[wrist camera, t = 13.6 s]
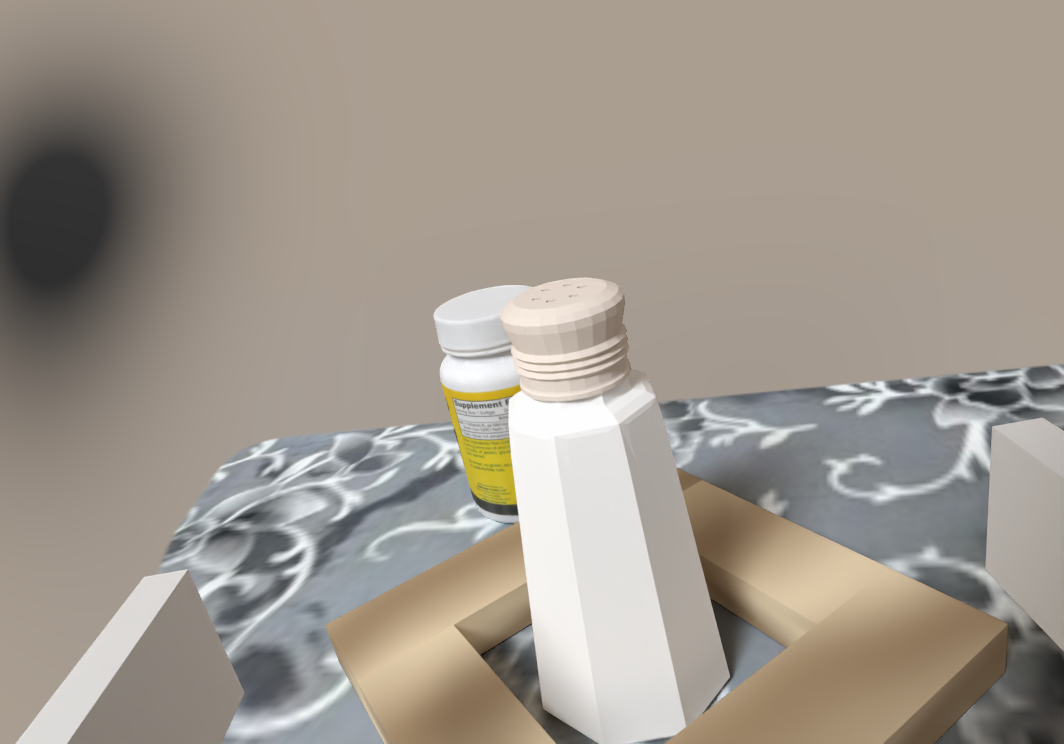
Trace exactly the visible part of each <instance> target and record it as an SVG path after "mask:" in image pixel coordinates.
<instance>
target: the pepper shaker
mask: <svg viewBox="0 0 1064 744" xmlns="http://www.w3.org/2000/svg"><path fill="white" fill-rule="evenodd" d="M624 305H625V298H624V292H623V291H622V289H621V288H620V287H618V285H617V284H615V283H613V282H610V281H605V280H600V279H595V278H573V279H564V280H559V281H554V282H550V283H546V284H542V285H539V286H536V287H533V288H530V289H528V290H526V291H524V292H522V293H520V294H519V295H517V296H516V297H514V298H513V299H511V300H510V301H508V302H507V303H506V304H505V306H504V307H503V309H502V311H501V313H500V320H501V323H502V326H503V328H504V330H505V332H506V334H507V336H508V337H509V339H510V341H511V343H512V347H511V354H512V355H513V362H514V363H515V370H516V371H517V372H518V373H519V374H520V377H521V379H520V388H521V391H520V392H518V393H516V394H515V395H514V396H513V397H512V398H510V399H509V417H508V425H509V437H510V449H511V459H512V467H513V475H514V483H515V491H516V499H517V506H518V514H519V522H520V530H521V538H522V546H523V554H524V562H525V570H526V578H527V586H528V594H529V602H530V610H531V618H532V626H533V634H534V642H535V649H536V657H537V665H538V673H539V681H540V689H541V697H542V705H543V709H544V710H546V711H547V712H549V713H550V714H552V715H554V716H555V717H557V718H558V719H560V720H562V721H563V722H565V723H566V724H568V725H570V726H571V727H573V728H574V729H576V730H578V731H579V732H581V733H582V734H584V735H586V736H587V737H589V738H590V739H592V740H594V741H595V742H597V743H598V744H633V743H639V742H645V741H651V740H657V739H663V738H669V737H674V736H675V735H676V734H678V733H679V732H680V731H681V730H683V729H684V728H685V727H686V726H688V725H689V724H690V723H692V722H693V721H694V720H695V719H697V718H698V717H699V716H701V715H702V713H703V712H704V711H705V709H706V708H707V707H708V705H709V704H710V703H711V701H712V700H713V699H714V697H715V696H716V695H717V693H718V692H719V691H720V689H721V688H722V687H723V686H724V684H725V683H726V682H727V680H728V679H729V678H730V674H729V670H728V666H727V662H726V659H725V655H724V651H723V647H722V643H721V639H720V635H719V631H718V628H717V624H716V620H715V616H714V612H713V608H712V604H711V601H710V597H709V593H708V589H707V585H706V581H705V577H704V573H703V570H702V566H701V562H700V558H699V554H698V550H697V546H696V542H695V539H694V535H693V531H692V527H691V523H690V519H689V515H688V512H687V508H686V504H685V500H684V496H683V492H682V488H681V484H680V481H679V477H678V473H677V469H676V465H675V461H674V457H673V453H672V450H671V446H670V442H669V438H668V434H667V430H666V426H665V423H664V420H663V417H662V414H661V411H660V407H659V404H658V401H657V397H656V395H655V393H654V391H653V388H652V386H651V384H650V382H649V380H648V378H647V376H646V374H645V373H643V372H640V371H637V370H631V365H630V362H629V360H628V358H627V352H628V349H629V345H628V343H627V340H628V337H627V335H626V331H627V329H626V327H625V326H624V324H622V321H623V313H624Z"/></svg>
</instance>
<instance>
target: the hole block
mask: <svg viewBox="0 0 1064 744" xmlns="http://www.w3.org/2000/svg"><path fill="white" fill-rule="evenodd" d="M676 469H677V473H678V477H679V481H680V484H681V488H682V492H683V496H684V500H685V504H686V508H687V512H688V515H689V519H690V523H691V527H692V531H693V535H694V539H695V542H696V546H697V550H698V554H699V558H700V562H701V566H702V570H703V573H704V577H705V581H706V585H707V589H708V593H709V597H710V598H711V599H713V600H714V601H716V602H717V603H719V604H720V605H722V606H723V607H725V608H726V609H728V610H730V611H731V612H733V613H734V614H736V615H737V616H739V617H740V618H742V619H743V620H745V621H746V622H748V623H750V624H751V625H753V626H754V627H756V628H757V629H759V630H760V631H762V632H763V633H765V634H766V635H768V636H770V637H771V638H773V639H774V640H776V641H777V642H779V643H780V644H782V645H783V646H785V647H786V649H785V650H784V651H782V652H781V653H780V654H779V655H777V656H776V657H775V658H773V659H772V660H771V661H770V662H768V663H767V664H766V665H765V666H763V667H762V668H761V669H759V670H758V671H757V672H756V673H754V674H753V675H752V676H750V677H749V678H748V679H747V680H745V681H744V682H743V683H741V684H740V685H739V686H738V687H736V688H735V689H734V690H733V691H731V692H730V693H729V694H727V695H726V696H725V697H724V698H722V699H721V700H720V701H718V702H717V703H716V704H715V705H713V706H712V707H711V708H710V709H708V710H707V711H706V712H704V713H703V714H702V715H701V716H699V717H698V718H697V719H695V720H694V721H693V722H692V723H690V724H689V725H688V726H686V727H685V728H684V729H683V730H681V731H680V732H679V733H678V734H676V735H675V736H674V737H672V738H671V739H670V740H669V741H667V742H666V743H665V744H934V743H935V742H936V741H937V740H938V739H939V738H940V737H941V736H942V735H943V734H944V733H945V732H946V731H947V730H948V729H949V728H950V727H951V726H952V725H953V724H954V723H955V722H956V721H957V720H958V719H959V718H960V717H961V716H962V715H963V714H964V713H965V712H966V711H967V710H968V709H969V708H970V707H971V706H972V705H973V704H974V703H975V702H976V701H977V700H978V699H979V698H980V697H981V696H982V695H983V694H984V693H985V692H986V691H987V690H988V689H989V688H990V687H991V686H992V685H993V684H994V683H995V682H996V681H997V680H998V679H999V678H1000V677H1001V676H1002V675H1003V674H1004V673H1005V670H1006V654H1007V638H1008V624H1007V623H1005V622H1003V621H1001V620H999V619H997V618H994V617H992V616H990V615H988V614H986V613H984V612H982V611H980V610H977V609H975V608H973V607H971V606H969V605H967V604H965V603H963V602H960V601H958V600H956V599H954V598H952V597H950V596H948V595H946V594H943V593H941V592H939V591H937V590H935V589H933V588H931V587H929V586H926V585H924V584H922V583H920V582H918V581H916V580H914V579H912V578H909V577H907V576H905V575H903V574H901V573H899V572H897V571H895V570H892V569H890V568H888V567H886V566H884V565H882V564H880V563H878V562H875V561H873V560H871V559H869V558H867V557H865V556H863V555H861V554H858V553H856V552H854V551H852V550H850V549H848V548H846V547H844V546H841V545H839V544H837V543H835V542H833V541H831V540H829V539H827V538H824V537H822V536H820V535H818V534H816V533H814V532H812V531H810V530H807V529H805V528H803V527H801V526H799V525H797V524H795V523H793V522H790V521H788V520H786V519H784V518H782V517H780V516H778V515H776V514H773V513H771V512H769V511H767V510H765V509H763V508H761V507H759V506H756V505H754V504H752V503H750V502H748V501H746V500H744V499H742V498H739V497H737V496H735V495H733V494H731V493H729V492H727V491H725V490H722V489H720V488H718V487H716V486H714V485H712V484H710V483H708V482H705V481H703V480H701V479H699V478H697V477H695V476H693V475H691V474H688V473H686V472H684V471H682V470H680V469H678V468H676ZM531 623H532V618H531V610H530V602H529V594H528V586H527V578H526V570H525V562H524V554H523V546H522V538H521V530H520V522H517V523H515V524H513V525H511V526H509V527H507V528H506V529H504V530H502V531H500V532H498V533H496V534H494V535H492V536H491V537H489V538H487V539H485V540H483V541H481V542H479V543H477V544H476V545H474V546H472V547H470V548H468V549H466V550H464V551H463V552H461V553H459V554H457V555H455V556H453V557H451V558H449V559H448V560H446V561H444V562H442V563H440V564H438V565H436V566H434V567H433V568H431V569H429V570H427V571H425V572H423V573H421V574H419V575H418V576H416V577H414V578H412V579H410V580H408V581H406V582H404V583H403V584H401V585H399V586H397V587H395V588H393V589H391V590H390V591H388V592H386V593H384V594H382V595H380V596H378V597H376V598H375V599H373V600H371V601H369V602H367V603H365V604H363V605H361V606H360V607H358V608H356V609H354V610H352V611H350V612H348V613H346V614H345V615H343V616H341V617H339V618H337V619H335V620H333V621H332V622H330V623H328V624H326V625H325V626H326V629H327V632H328V634H329V637H330V639H331V642H332V645H333V647H334V650H335V652H336V655H337V657H338V660H339V663H340V664H341V666H342V668H343V670H344V671H345V673H346V675H347V677H348V679H349V680H350V682H351V684H352V686H353V688H354V689H355V691H356V693H357V695H358V697H359V698H360V700H361V702H362V704H363V706H364V707H365V709H366V711H367V713H368V715H369V716H370V718H371V720H372V722H373V724H374V725H375V727H376V729H377V731H378V733H379V734H380V736H381V738H382V740H383V742H384V743H385V744H556V743H555V742H554V741H553V740H552V738H551V737H550V736H549V735H548V734H547V733H546V731H545V730H544V729H543V728H542V727H541V726H540V724H539V723H538V722H537V721H536V720H535V719H534V718H533V716H532V715H531V714H530V713H529V712H528V711H527V709H526V708H525V707H524V706H523V705H522V704H521V702H520V701H519V700H518V699H517V698H516V697H515V696H514V694H513V693H512V692H511V691H510V690H509V689H508V687H507V686H506V685H505V684H504V683H503V682H502V680H501V679H500V678H499V677H498V676H497V675H496V673H495V672H494V671H493V670H492V669H491V668H490V667H489V665H488V664H487V663H486V662H485V661H484V660H483V658H482V657H481V656H480V655H481V654H483V653H484V652H486V651H488V650H489V649H491V648H492V647H494V646H496V645H497V644H499V643H501V642H502V641H504V640H505V639H507V638H509V637H510V636H512V635H514V634H515V633H517V632H518V631H520V630H522V629H523V628H525V627H527V626H528V625H530V624H531Z"/></svg>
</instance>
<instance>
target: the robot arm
mask: <svg viewBox="0 0 1064 744" xmlns="http://www.w3.org/2000/svg"><path fill="white" fill-rule="evenodd" d="M986 571H987V572H988V573H989V574H990V575H991V576H992V577H993V579H994V580H995V581H996V582H997V583H998V584H999V585H1000V586H1001V587H1002V588H1003V589H1004V590H1005V591H1006V592H1007V593H1008V594H1009V595H1010V596H1011V597H1012V598H1013V599H1014V600H1015V601H1016V602H1017V603H1018V604H1019V606H1020V607H1021V608H1022V609H1023V610H1024V611H1025V612H1026V613H1027V614H1028V615H1029V616H1030V617H1031V618H1032V619H1033V620H1034V621H1035V622H1036V623H1037V624H1038V625H1039V626H1040V627H1041V628H1042V629H1043V630H1044V631H1045V633H1046V634H1047V635H1048V636H1049V637H1050V638H1051V639H1052V640H1053V641H1054V642H1055V643H1056V644H1057V645H1058V646H1059V647H1060V648H1061V649H1062V650H1063V651H1064V431H1063V430H1061V429H1060V428H1058V427H1057V426H1055V425H1053V424H1052V423H1050V422H1049V421H1047V420H1046V419H1044V418H1038V419H1032V420H1027V421H1021V422H1015V423H1010V424H1004V425H999V426H993V427H992V442H991V463H990V485H989V506H988V527H987V548H986ZM243 695H244V691H243V689H242V687H241V685H240V682H239V680H238V678H237V676H236V674H235V671H234V669H233V667H232V665H231V663H230V660H229V658H228V656H227V654H226V652H225V650H224V647H223V645H222V643H221V641H220V639H219V636H218V634H217V632H216V630H215V628H214V625H213V623H212V621H211V619H210V617H209V615H208V612H207V610H206V608H205V606H204V604H203V601H202V599H201V597H200V595H199V593H198V590H197V588H196V586H195V584H194V582H193V579H192V577H191V575H190V573H189V571H188V569H187V570H181V571H175V572H170V573H164V574H158V575H153V576H147V577H144V578H143V579H142V580H141V582H140V583H139V584H138V586H137V587H136V588H135V590H134V591H133V592H132V593H131V595H130V596H129V597H128V599H127V600H126V601H125V603H124V604H123V605H122V606H121V608H120V609H119V610H118V612H117V613H116V614H115V615H114V617H113V618H112V619H111V621H110V622H109V623H108V625H107V626H106V627H105V628H104V630H103V631H102V632H101V634H100V635H99V636H98V638H97V639H96V640H95V641H94V643H93V644H92V645H91V647H90V648H89V649H88V650H87V652H86V653H85V654H84V656H83V657H82V658H81V659H80V661H79V662H78V663H77V665H76V666H75V667H74V669H73V670H72V671H71V673H70V674H69V675H68V676H67V678H66V679H65V680H64V682H63V683H62V684H61V686H60V687H59V688H58V689H57V691H56V692H55V693H54V694H53V696H52V697H51V698H50V700H49V701H48V702H47V704H46V705H45V706H44V708H43V709H42V710H41V712H40V713H39V714H38V715H37V717H36V718H35V719H34V720H33V722H32V723H31V724H30V726H29V727H28V728H27V729H26V731H25V732H24V734H23V735H22V736H21V737H20V739H19V740H18V741H17V742H16V744H221V743H222V741H223V739H224V736H225V734H226V732H227V730H228V728H229V726H230V723H231V721H232V719H233V717H234V715H235V712H236V710H237V708H238V706H239V704H240V702H241V699H242V697H243Z"/></svg>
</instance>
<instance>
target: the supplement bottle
mask: <svg viewBox="0 0 1064 744" xmlns="http://www.w3.org/2000/svg"><path fill="white" fill-rule="evenodd" d="M530 288H532V287H529V286H522V285H507V286H498V287H491V288H486V289H480V290H476V291H473V292H469V293H466V294H463V295H461V296H458V297H456V298H453V299H451V300H449V301H447V302H446V303H444V304H442V305H441V306H439V308H437V309H436V311H435V313H434V321H435V324H436V329H437V334H438V340H439V344H440V345H441V348H442V350H443V352H445V353H446V354H448V355H447V356H446V357H445V359H444V360H443V362H442V364H441V367H440V379H441V384H442V388H443V391H444V394H445V399H446V401H447V405H448V409H449V412H450V416H451V420H452V423H453V426H454V431H455V434H456V438H457V442H458V445H459V448H460V453H461V456H462V459H463V463H464V466H465V470H466V474H467V477H468V481H469V485H470V488H471V492H472V496H473V499H474V502H475V505H476V507H477V509H478V510H479V511H480V512H481V513H482V514H483V515H484V516H485V517H487V518H489V519H491V520H494V521H497V522H502V523H517V522H519V514H518V506H517V499H516V491H515V483H514V475H513V467H512V459H511V449H510V437H509V425H508V417H509V399H510V398H512V397H513V396H514V395H515V394H516V393H518V392H520V391H521V388H520V379H521V377H520V374H519V373H518V372H517V371H516V370H515V363H514V362H513V355H512V354H511V347H512V343H511V341H510V339H509V337H508V336H507V334H506V332H505V330H504V328H503V326H502V323H501V320H500V313H501V311H502V309H503V307H504V306H505V304H506V303H507V302H508V301H510V300H511V299H513V298H514V297H516V296H517V295H519V294H520V293H522V292H524V291H526V290H528V289H530Z"/></svg>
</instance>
